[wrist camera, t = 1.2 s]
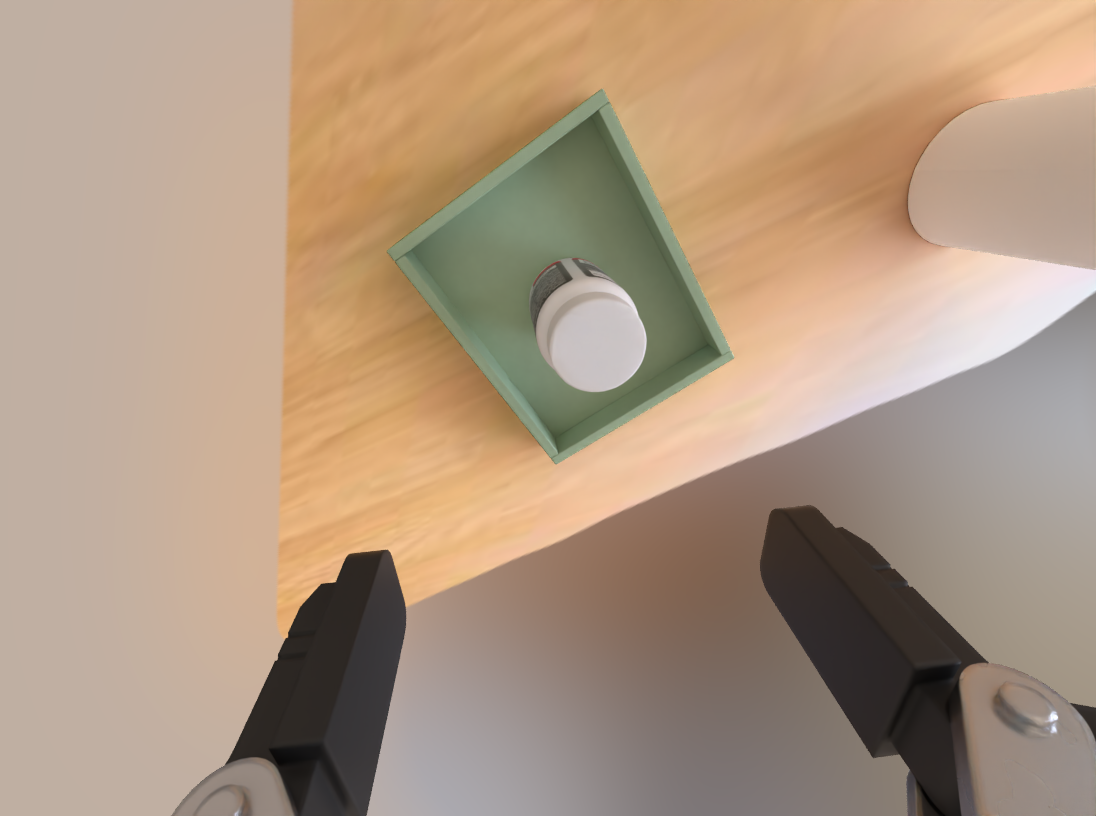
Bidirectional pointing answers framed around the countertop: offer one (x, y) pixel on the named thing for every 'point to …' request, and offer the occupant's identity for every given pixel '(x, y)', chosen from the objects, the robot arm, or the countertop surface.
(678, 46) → the countertop surface
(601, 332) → the pill bottle
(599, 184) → the tray
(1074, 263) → the cylindrical container
